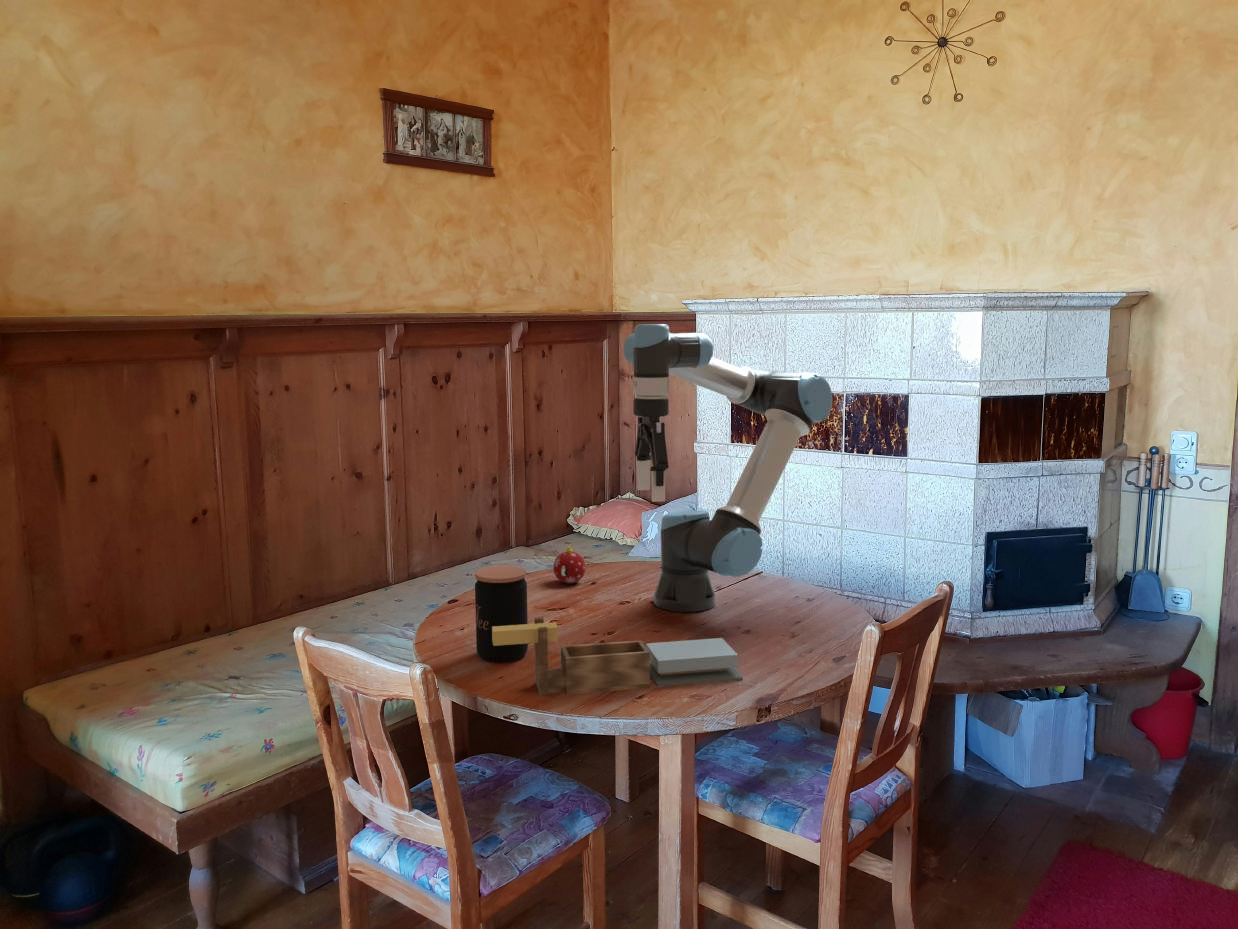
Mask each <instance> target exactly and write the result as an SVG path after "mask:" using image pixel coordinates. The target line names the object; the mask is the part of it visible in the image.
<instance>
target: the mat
mask: <svg viewBox="0 0 1238 929" xmlns="http://www.w3.org/2000/svg"><path fill="white" fill-rule="evenodd" d="M650 679H652V681H653V682H654V684H655V686H656V687H657V688H662V687H665V688H666V687H674V686H686V685H687V686H688V685H698V684H700V685H701V684H711V683H723V682H734V681H737V682H738V681H743V679H744V678H743V676H742V675H741V673H740V672H739V671H737V669H736V667H731V668H728V670H721V671H709V672H697V673H684V674H672V675H660V674H659V673H658V672H657V671H656V669H655V668H654V666H653V665H652V663H651V662H650Z"/></svg>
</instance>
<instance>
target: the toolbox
mask: <svg viewBox="0 0 1238 929" xmlns="http://www.w3.org/2000/svg"><path fill="white" fill-rule="evenodd" d="M544 620H545V619H544V617H534V621H533V622H534V623H533V624H538V623H545V622H544ZM548 646H549V644H548V633H547V627H538V643H534V660H535V661H534V665H535V666H534V667H535V670H534V672H535V674H534V676H535V685H536V688H537V692H538V696H539V697H540V698H543V697H549V694H560V693H565V695H579V694H590V693H591V694H592V693H602V692H603V693H604V692H615V691H626V690H627V691H628V690H638V689H649V688H651V676H650V652H649V650H648V649H647V647H646V644H645V642H643V640H642V639H641V640H626V641H612V642H611V641H610V642H599V643H597V642H596V643H585V644H571V645H561V646H560V667H559V668H549V650H548V649H549V648H548Z"/></svg>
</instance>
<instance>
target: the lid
mask: <svg viewBox="0 0 1238 929" xmlns="http://www.w3.org/2000/svg"><path fill="white" fill-rule="evenodd" d="M645 646H646V647H647V649H648V650H649V652H650V662H651V663H652V665H653V666H654V668H655V669H656V671H657V672H658V673H659V674H660V675H672V674H684V673H697V672H709V671H721V670H728V668H731V667H734V668H738V666H739V662H738V661H739V654H738V653H737V652H736V651H735V650H734V649H733V648H732V646H730V645H729V644H728V643H727V642H726V640H725V639H724V638H723V637H719V638H718V637H717V638H716V637H715V638H704V639H690V640H689V639H688V640H677V641H661V642H649V643H646V644H645Z"/></svg>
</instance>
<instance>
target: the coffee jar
mask: <svg viewBox="0 0 1238 929" xmlns="http://www.w3.org/2000/svg"><path fill="white" fill-rule="evenodd" d="M527 574H528V573H527V570H526V569H525V568H524V567H522V566H519V565H518V566H517V565H508V564H507V565H506V564H505V565H504V564H503V565H502V564H498V565H490V566H485V567H481V568H478V569H477V570H476V571H475V572H474V577H475V579H476V582H475V583H474V600H475V602H474V604H475V605H474V606H475V637H476V638H475V641H476V642H475V643H476V644H475V645H476V653H477V655H478V656H479V658H480V659H481V660H482V661H483V662H487V663H492V664H506V663H507V664H510V663H514V662H517V661H519V660H522V659H523V658H524V657H525V655H526V654H527V652H528V650H529V643H526V644H512V645H498V646H493V641H492V627H493V626H508V625H523V624H529V623H528V582H527V581H526V579H525V578H526V576H527Z"/></svg>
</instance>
